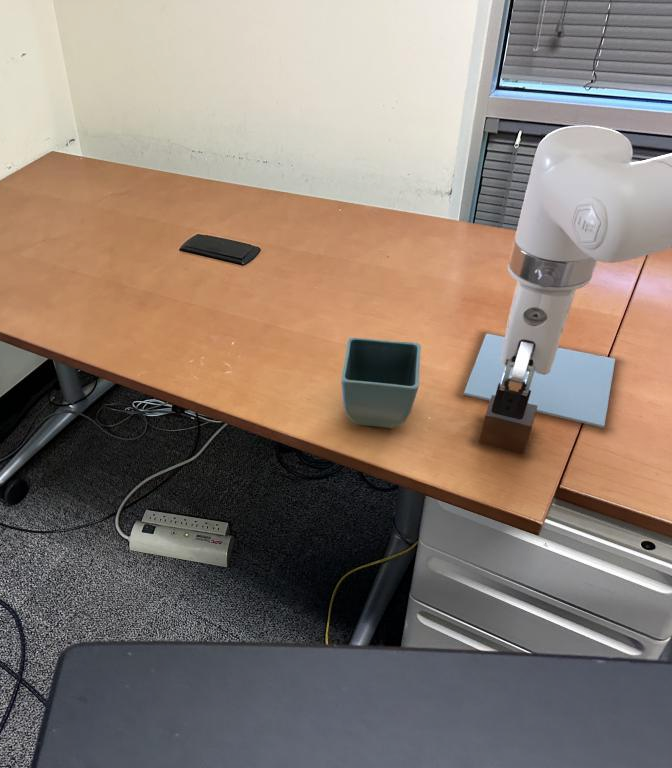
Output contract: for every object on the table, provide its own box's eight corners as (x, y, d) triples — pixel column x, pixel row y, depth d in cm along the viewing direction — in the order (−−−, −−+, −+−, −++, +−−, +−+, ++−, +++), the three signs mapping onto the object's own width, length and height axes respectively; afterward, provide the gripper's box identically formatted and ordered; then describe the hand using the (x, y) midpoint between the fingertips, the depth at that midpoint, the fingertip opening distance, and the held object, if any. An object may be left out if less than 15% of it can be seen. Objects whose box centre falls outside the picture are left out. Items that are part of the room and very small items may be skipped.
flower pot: (410, 442, 85) (419, 387, 79) (337, 434, 87) (340, 380, 81) (413, 396, 91) (421, 342, 85) (344, 389, 93) (348, 336, 88)
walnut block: (529, 432, 83) (537, 405, 81) (523, 454, 81) (532, 426, 78) (485, 421, 86) (492, 394, 83) (478, 442, 83) (485, 415, 80)
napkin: (614, 360, 91) (615, 358, 91) (603, 428, 82) (604, 425, 82) (485, 335, 98) (486, 333, 98) (463, 394, 90) (463, 392, 90)
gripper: (584, 314, 61) (538, 447, 72) (605, 223, 71) (562, 351, 82) (493, 297, 64) (463, 427, 75) (526, 213, 75) (495, 338, 86)
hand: (514, 387), depth 79 cm, fingers open, 9 cm apart
